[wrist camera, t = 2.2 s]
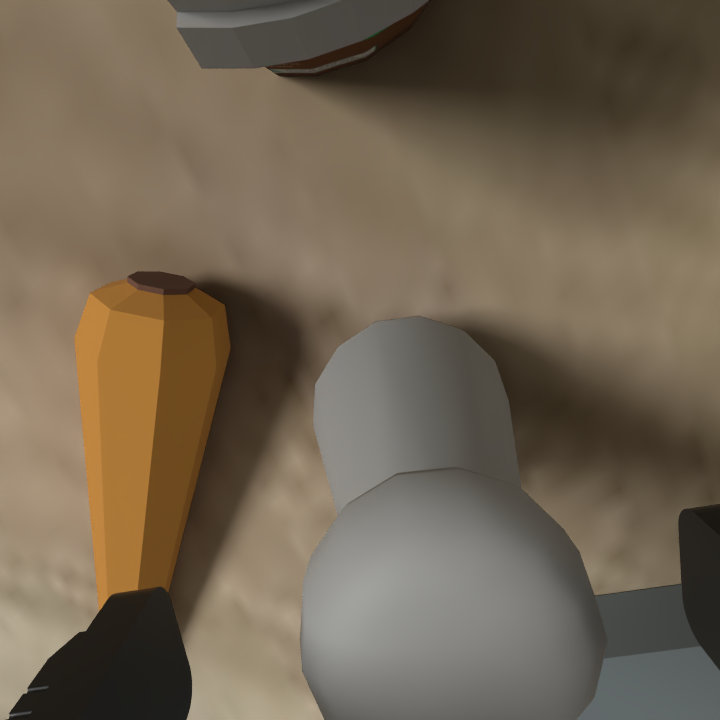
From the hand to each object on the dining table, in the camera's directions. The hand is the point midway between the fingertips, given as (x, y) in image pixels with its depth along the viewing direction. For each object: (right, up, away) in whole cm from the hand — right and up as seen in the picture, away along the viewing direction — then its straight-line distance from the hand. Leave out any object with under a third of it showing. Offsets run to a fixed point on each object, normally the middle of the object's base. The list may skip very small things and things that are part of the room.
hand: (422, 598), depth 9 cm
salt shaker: (+1, +3, +11) cm, 11 cm away
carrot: (-9, -3, +13) cm, 16 cm away
